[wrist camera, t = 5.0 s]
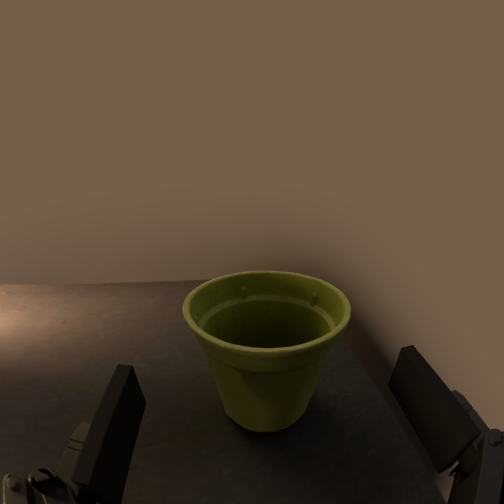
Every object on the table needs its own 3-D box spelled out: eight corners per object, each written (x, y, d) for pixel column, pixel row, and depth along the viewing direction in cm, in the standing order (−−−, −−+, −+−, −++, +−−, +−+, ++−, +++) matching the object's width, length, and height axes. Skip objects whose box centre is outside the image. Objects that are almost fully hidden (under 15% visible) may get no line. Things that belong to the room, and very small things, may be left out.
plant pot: (205, 363, 22) (194, 270, 20) (313, 357, 23) (323, 266, 20) (195, 453, 13) (166, 352, 11) (343, 441, 14) (379, 339, 11)
